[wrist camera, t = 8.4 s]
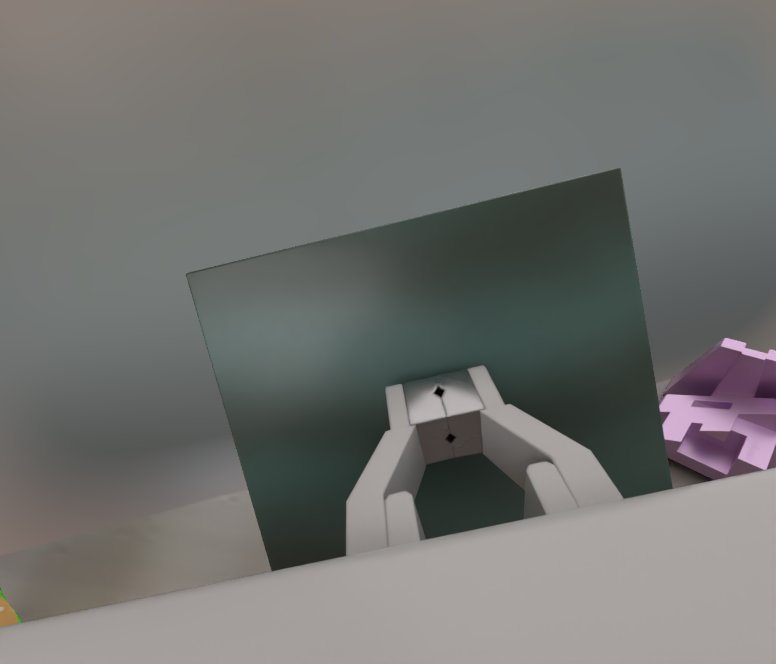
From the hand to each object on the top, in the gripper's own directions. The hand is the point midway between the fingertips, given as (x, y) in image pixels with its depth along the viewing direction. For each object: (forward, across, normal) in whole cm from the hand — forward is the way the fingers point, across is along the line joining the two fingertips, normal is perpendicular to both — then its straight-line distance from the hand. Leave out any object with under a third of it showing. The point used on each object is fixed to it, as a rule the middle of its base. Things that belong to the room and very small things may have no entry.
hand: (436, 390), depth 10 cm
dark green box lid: (+1, 0, +1) cm, 2 cm away
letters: (+5, -18, +15) cm, 24 cm away
